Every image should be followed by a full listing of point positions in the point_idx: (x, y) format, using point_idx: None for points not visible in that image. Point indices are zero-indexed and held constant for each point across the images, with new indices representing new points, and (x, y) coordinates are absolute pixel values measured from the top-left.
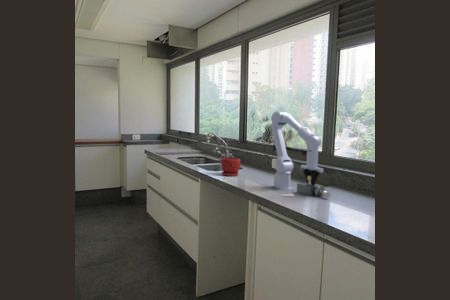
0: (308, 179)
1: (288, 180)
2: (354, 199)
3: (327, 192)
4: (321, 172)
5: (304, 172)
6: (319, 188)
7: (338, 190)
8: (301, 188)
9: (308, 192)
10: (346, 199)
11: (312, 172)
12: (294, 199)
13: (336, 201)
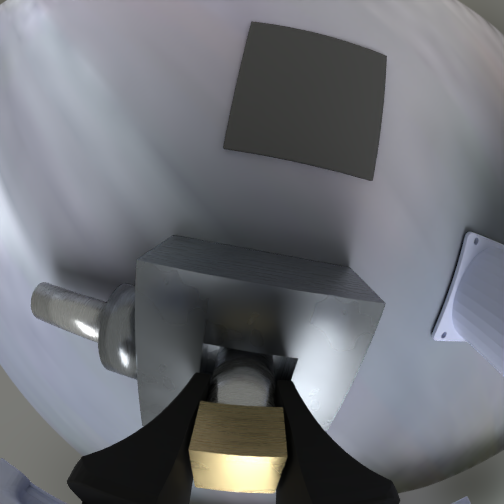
0: (252, 411)
1: (494, 325)
2: (61, 405)
3: (32, 302)
4: (8, 466)
5: (351, 481)
6: (102, 341)
7: (236, 492)
8: (295, 275)
9: (173, 246)
10: (62, 382)
11: (84, 476)
12: (177, 48)
13: None
